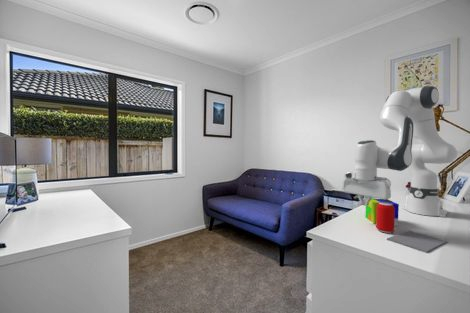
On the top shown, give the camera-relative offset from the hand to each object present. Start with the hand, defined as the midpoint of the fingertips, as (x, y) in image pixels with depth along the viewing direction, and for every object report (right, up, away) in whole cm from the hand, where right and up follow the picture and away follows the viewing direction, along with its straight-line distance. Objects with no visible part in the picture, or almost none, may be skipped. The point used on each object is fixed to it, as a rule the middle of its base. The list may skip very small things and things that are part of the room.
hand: (364, 205), depth 98 cm
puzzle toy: (+12, -10, +6) cm, 16 cm away
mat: (+10, -10, -17) cm, 22 cm away
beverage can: (+4, -10, -8) cm, 13 cm away
